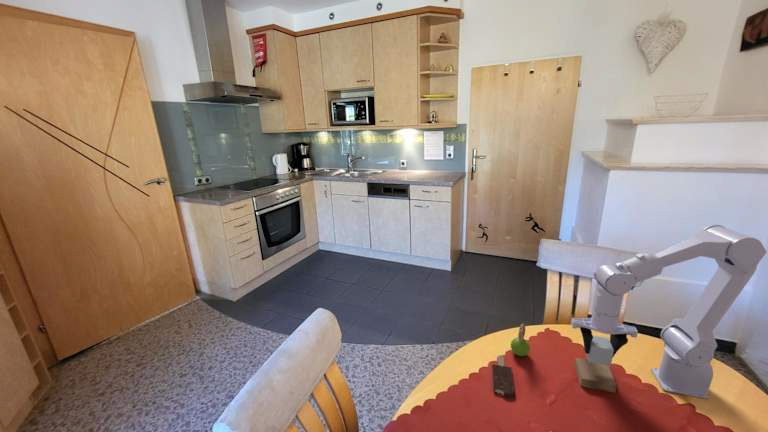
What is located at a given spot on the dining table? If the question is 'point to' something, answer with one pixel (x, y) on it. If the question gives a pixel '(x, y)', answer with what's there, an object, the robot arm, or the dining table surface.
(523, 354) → the green candy apple
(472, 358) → the dining table surface
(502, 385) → the ice cream bar
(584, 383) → the walnut block
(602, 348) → the slate-blue cube
